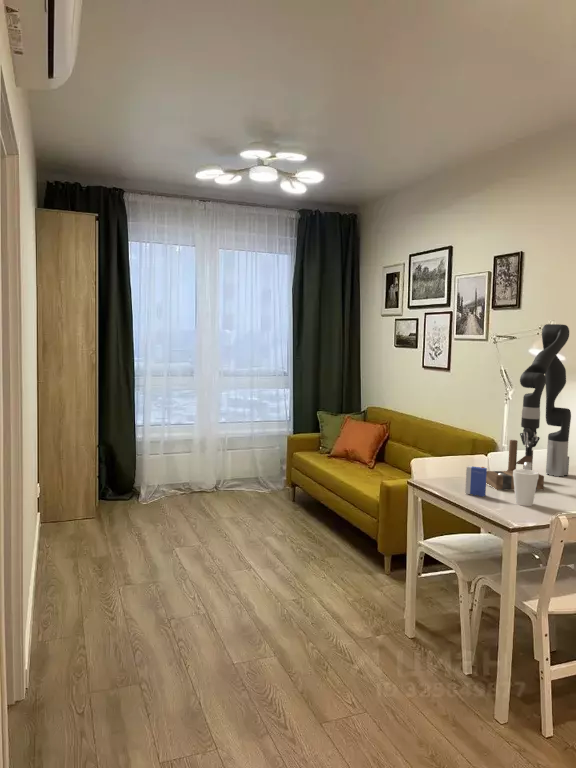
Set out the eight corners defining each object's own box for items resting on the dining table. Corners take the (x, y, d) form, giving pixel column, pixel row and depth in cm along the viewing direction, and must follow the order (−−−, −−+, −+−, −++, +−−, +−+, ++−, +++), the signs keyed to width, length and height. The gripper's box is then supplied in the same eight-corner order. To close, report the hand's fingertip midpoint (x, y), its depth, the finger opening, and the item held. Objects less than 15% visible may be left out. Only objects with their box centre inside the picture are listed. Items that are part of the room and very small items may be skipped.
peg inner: (528, 474, 265) (529, 461, 265) (532, 476, 262) (533, 463, 262) (522, 474, 265) (522, 461, 264) (525, 476, 262) (526, 463, 261)
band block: (531, 483, 269) (532, 471, 269) (543, 489, 259) (544, 476, 259) (485, 484, 267) (486, 471, 266) (495, 489, 257) (496, 476, 256)
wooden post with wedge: (530, 480, 276) (532, 442, 275) (506, 477, 281) (508, 440, 280) (531, 479, 279) (533, 441, 278) (507, 476, 284) (509, 439, 283)
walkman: (485, 495, 247) (486, 467, 246) (484, 496, 244) (485, 468, 244) (466, 492, 251) (467, 464, 250) (465, 494, 248) (466, 466, 247)
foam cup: (530, 500, 240) (532, 469, 239) (540, 507, 231) (542, 474, 230) (507, 500, 240) (509, 469, 239) (517, 506, 230) (518, 474, 229)
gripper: (546, 419, 255) (544, 458, 257) (530, 415, 269) (528, 453, 270) (530, 419, 254) (528, 458, 256) (515, 415, 268) (513, 452, 269)
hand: (528, 455), depth 263 cm, fingers closed
